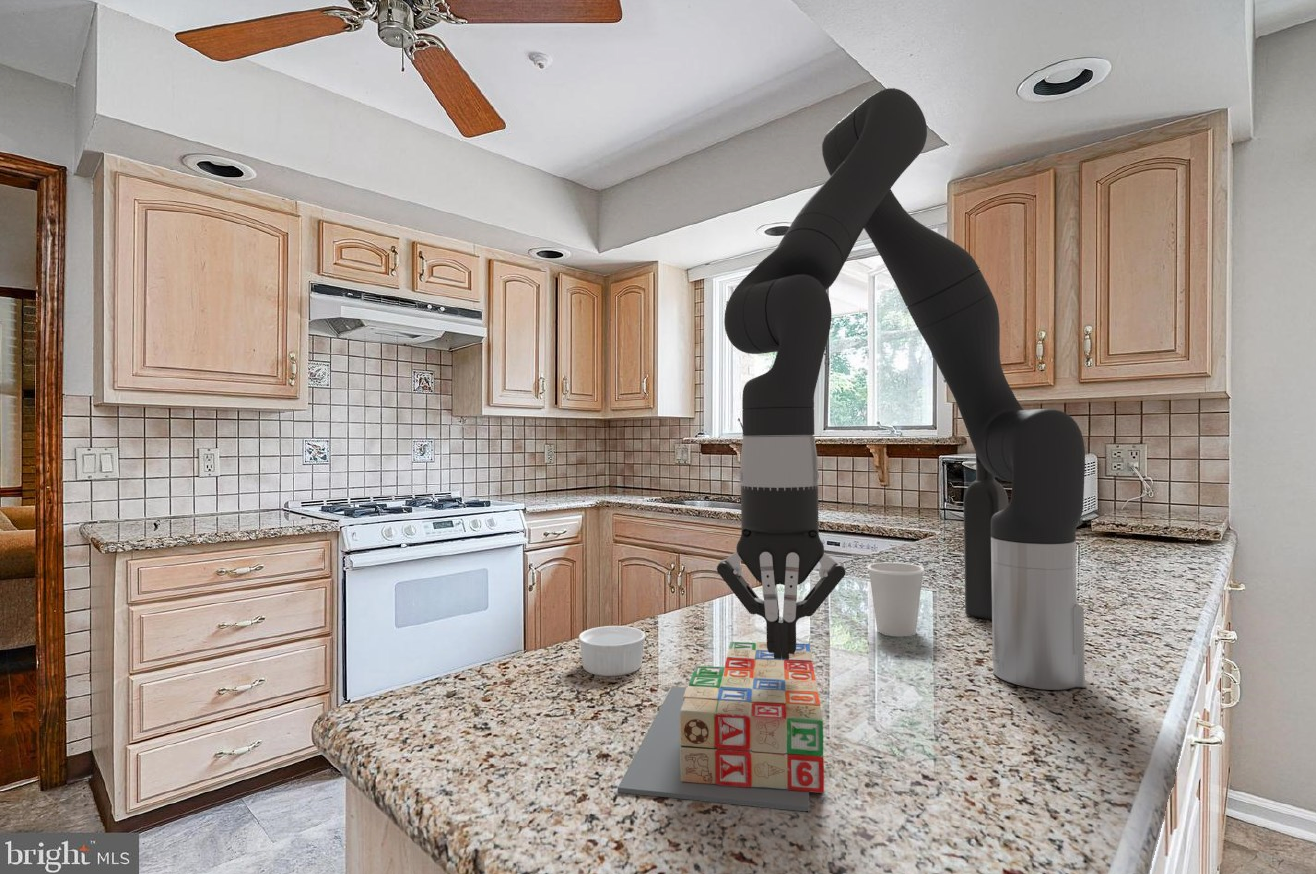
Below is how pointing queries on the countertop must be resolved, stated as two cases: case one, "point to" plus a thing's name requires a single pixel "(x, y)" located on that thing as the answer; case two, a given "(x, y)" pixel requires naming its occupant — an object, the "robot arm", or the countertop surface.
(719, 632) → the countertop surface
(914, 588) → the dixie cup
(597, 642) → the ramekin
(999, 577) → the robot arm
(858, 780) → the countertop surface
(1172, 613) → the countertop surface
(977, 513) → the wine bottle
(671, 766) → the mat
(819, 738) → the stack of blocks
